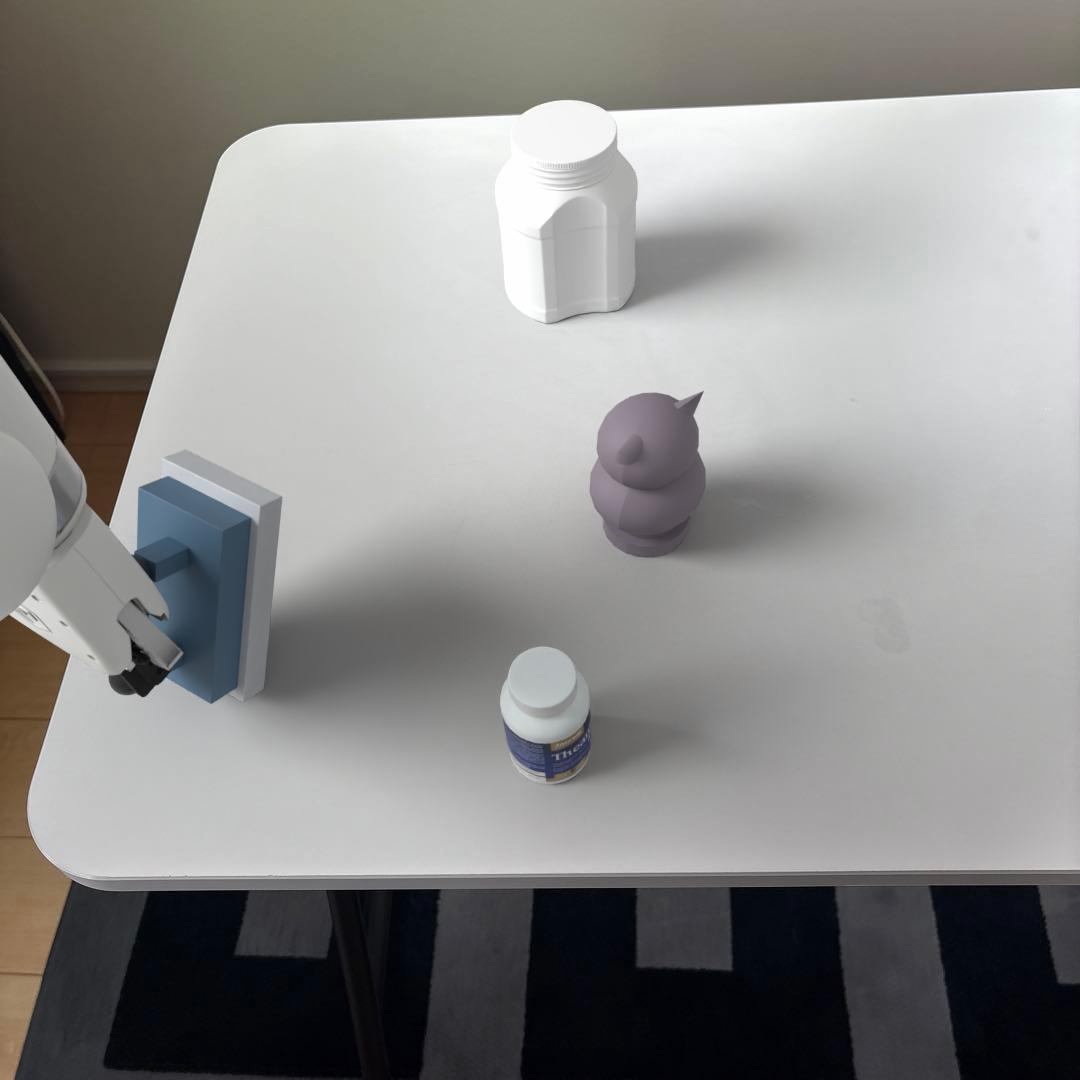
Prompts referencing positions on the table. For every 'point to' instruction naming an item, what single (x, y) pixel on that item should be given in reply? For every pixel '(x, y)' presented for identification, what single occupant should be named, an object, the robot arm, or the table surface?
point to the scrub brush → (210, 573)
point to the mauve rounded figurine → (648, 472)
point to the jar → (567, 213)
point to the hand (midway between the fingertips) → (138, 663)
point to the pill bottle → (546, 716)
